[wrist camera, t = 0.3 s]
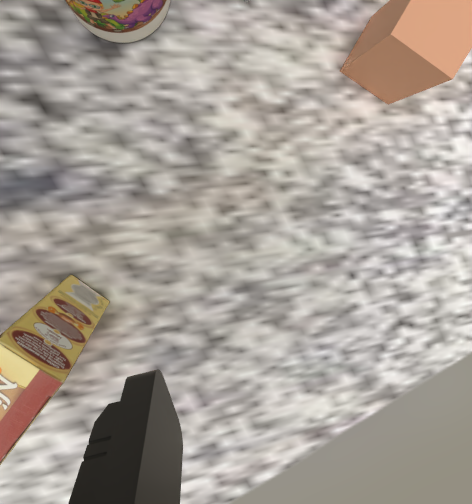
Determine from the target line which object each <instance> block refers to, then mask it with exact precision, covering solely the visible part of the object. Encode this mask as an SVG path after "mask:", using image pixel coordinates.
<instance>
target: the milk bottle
mask: <svg viewBox="0 0 472 504" xmlns="http://www.w3.org/2000/svg"><path fill="white" fill-rule="evenodd" d="M65 1H66V2H67V4H68V5H69V7H70V9H71V10H72V12H73V13H74V14H75V16H76V17H77V18H78V20H79V21H80V22H81V23H82V24H83V26H85V27H86V28H87V29H88V30H89V31H90V32H92V33H93V34H95V35H96V36H98V37H100V38H103V39H105V40H108V41H112V42H118V43H128V42H134V41H138V40H141V39H143V38H145V37H147V36H148V35H150V34H151V33H153V32H154V31H155V30H156V29H157V28H158V27H159V26H160V24H161V23H162V22H163V20H164V18H165V16H166V14H167V12H168V9H169V5H170V0H65Z"/></svg>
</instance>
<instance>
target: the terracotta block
mask: <svg viewBox="0 0 472 504" xmlns="http://www.w3.org/2000/svg"><path fill="white" fill-rule="evenodd" d="M471 48H472V0H390V1H389V2H387V3H386V4H385V5H384V6H383V7H382V8H381V9H380V10H378V11H377V12H376V13H375V14H374V15H373V16H372V17H371V19H370V20H369V22H368V24H367V25H366V27H365V29H364V31H363V32H362V34H361V36H360V37H359V39H358V41H357V43H356V44H355V46H354V48H353V49H352V51H351V53H350V54H349V56H348V58H347V60H346V61H345V63H344V65H343V66H342V68H341V70H340V72H342V73H343V74H345V75H346V76H347V77H349V78H350V79H352V80H353V81H355V82H356V83H358V84H359V85H360V86H362V87H363V88H365V89H366V90H368V91H369V92H371V93H372V94H374V95H375V96H376V97H378V98H379V99H381V100H382V101H384V102H385V103H387V104H390V103H393V102H396V101H398V100H401V99H403V98H406V97H408V96H411V95H413V94H416V93H419V92H421V91H424V90H426V89H429V88H431V87H434V86H436V85H439V84H441V83H444V82H447V81H449V80H452V79H453V78H454V76H455V74H456V73H457V71H458V69H459V68H460V66H461V65H462V63H463V61H464V60H465V58H466V56H467V55H468V53H469V51H470V50H471Z"/></svg>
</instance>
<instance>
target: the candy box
mask: <svg viewBox="0 0 472 504" xmlns="http://www.w3.org/2000/svg"><path fill="white" fill-rule="evenodd" d="M109 303H110V301H109V300H107V299H105V298H104V297H103V296H101V295H100V294H98V293H97V292H95V291H94V290H92V289H91V288H90V287H88V286H87V285H86V284H84V283H83V282H81V281H80V280H79V279H77V278H76V277H74V276H73V275H70V276H68V277H67V278H66V279H65V280H64V281H63V282H62V283H60V284H59V285H58V286H57V287H56V288H54V289H53V290H52V291H51V292H50V293H49V294H47V295H46V296H45V297H44V298H43V299H42V300H41V301H39V302H38V303H37V304H36V305H35V306H33V307H32V308H31V309H30V310H29V311H28V312H27V313H25V314H24V315H23V316H22V317H21V318H20V319H18V320H17V321H16V322H15V323H14V324H13V325H11V326H10V327H9V328H8V329H7V330H6V331H5V332H3V333H2V334H1V335H0V465H1V464H2V462H3V461H4V460H5V458H6V457H7V456H8V454H9V453H10V452H11V451H12V449H13V448H14V447H15V445H16V444H17V442H18V441H19V440H20V438H21V437H22V436H23V435H24V433H25V432H26V431H27V429H28V428H29V427H30V425H31V424H32V423H33V421H34V420H35V419H36V417H37V416H38V415H39V414H40V412H41V411H42V410H43V408H44V407H45V406H46V404H47V403H48V402H49V400H50V399H51V398H52V397H53V395H54V394H55V393H56V392H57V390H58V389H59V388H60V387H61V385H62V384H63V383H64V381H65V379H66V378H67V376H68V375H69V372H70V371H71V369H72V367H73V365H74V364H75V362H76V360H77V359H78V357H79V355H80V353H81V352H82V350H83V348H84V346H85V345H86V343H87V341H88V339H89V337H90V335H91V333H92V332H93V330H94V328H95V327H96V325H97V323H98V321H99V319H100V318H101V316H102V314H103V312H104V311H105V309H106V307H107V306H108V304H109Z"/></svg>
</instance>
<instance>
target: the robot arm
mask: <svg viewBox="0 0 472 504" xmlns="http://www.w3.org/2000/svg"><path fill="white" fill-rule="evenodd" d="M182 454H183V440H182V432H181V427H180V423H179V419H178V416H177V414H176V411H175V408H174V405H173V402H172V400H171V397H170V394H169V391H168V388H167V386H166V383H165V380H164V377H163V375H162V373H161V371H160V370H154V371H150V372H146V373H142V374H138V375H134V376H130V377H127V379H126V382H125V385H124V389H123V393H122V397H121V401H119V402H115V403H111V404H108V406H107V407H106V408H105V410H104V411H103V412H102V413H101V415H100V416H99V417H98V419H97V420H96V421H95V423H94V426H93V429H92V432H91V435H90V438H89V445H87V448H86V451H85V454H84V457H83V458H84V461H83V462H82V463H81V466H80V470H79V473H78V476H77V479H76V482H75V485H74V488H73V491H72V494H71V497H70V501H69V504H180V491H181V473H182Z"/></svg>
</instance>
